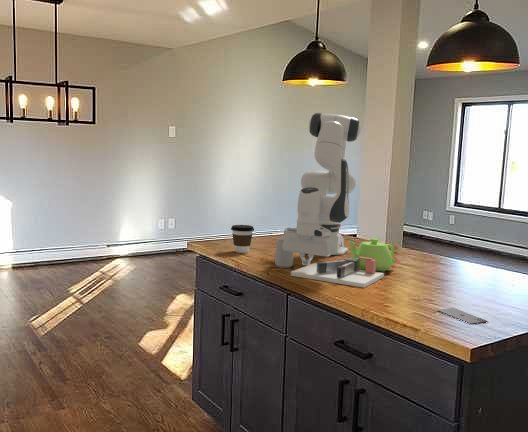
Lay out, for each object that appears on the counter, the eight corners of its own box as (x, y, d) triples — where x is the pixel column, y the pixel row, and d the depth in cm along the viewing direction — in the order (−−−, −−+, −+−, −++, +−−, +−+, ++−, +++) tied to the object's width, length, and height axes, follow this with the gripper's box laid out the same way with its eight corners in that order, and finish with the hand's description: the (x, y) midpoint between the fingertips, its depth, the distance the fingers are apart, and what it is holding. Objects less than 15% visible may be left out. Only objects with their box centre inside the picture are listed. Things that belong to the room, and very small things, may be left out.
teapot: (353, 274, 225) (355, 242, 224) (338, 266, 240) (340, 236, 238) (402, 273, 231) (404, 241, 230) (385, 265, 246) (387, 235, 244)
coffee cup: (258, 252, 263) (258, 227, 262) (238, 254, 257) (238, 228, 256) (245, 248, 272) (246, 224, 271) (225, 250, 266) (226, 225, 265)
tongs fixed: (348, 268, 229) (348, 257, 228) (359, 270, 226) (359, 258, 226) (329, 276, 213) (330, 264, 212) (341, 278, 210) (342, 266, 210)
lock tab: (359, 270, 226) (360, 256, 225) (375, 272, 223) (376, 258, 222) (357, 271, 224) (357, 257, 223) (372, 273, 220) (373, 259, 220)
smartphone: (453, 307, 181) (489, 320, 168) (453, 309, 182) (489, 323, 168) (435, 309, 178) (470, 323, 165) (435, 311, 178) (470, 326, 165)
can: (291, 269, 231) (292, 240, 230) (273, 267, 233) (274, 238, 231) (294, 265, 238) (295, 237, 237) (276, 264, 240) (277, 236, 238)
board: (314, 266, 238) (315, 262, 238) (383, 276, 223) (384, 273, 223) (290, 275, 219) (290, 271, 219) (364, 287, 204) (364, 283, 204)
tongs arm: (344, 269, 226) (345, 260, 225) (347, 270, 224) (347, 260, 224) (316, 272, 218) (317, 262, 218) (318, 273, 217) (319, 263, 217)
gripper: (280, 227, 222) (278, 262, 224) (328, 233, 212) (326, 269, 213) (287, 226, 227) (286, 260, 229) (335, 231, 217) (333, 266, 219)
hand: (306, 264), depth 221 cm, fingers closed
